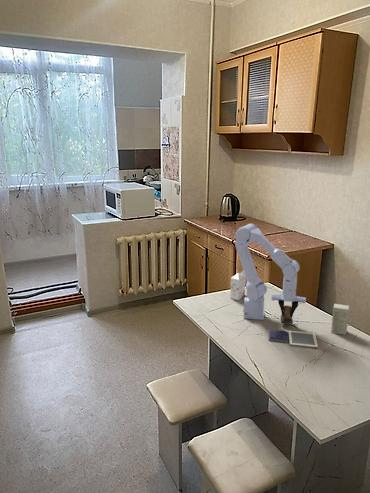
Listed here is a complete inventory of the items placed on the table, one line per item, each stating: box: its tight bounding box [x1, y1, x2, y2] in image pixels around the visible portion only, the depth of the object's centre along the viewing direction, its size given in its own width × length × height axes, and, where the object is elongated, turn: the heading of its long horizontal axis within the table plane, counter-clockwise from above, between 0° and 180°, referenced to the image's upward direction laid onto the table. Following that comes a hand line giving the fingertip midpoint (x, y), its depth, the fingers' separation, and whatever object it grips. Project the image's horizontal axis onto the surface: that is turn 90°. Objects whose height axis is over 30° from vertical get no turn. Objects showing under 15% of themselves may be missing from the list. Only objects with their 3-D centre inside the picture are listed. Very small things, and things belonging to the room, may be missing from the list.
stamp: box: [280, 304, 294, 325], centre depth 167 cm, size 5×5×7 cm
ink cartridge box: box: [230, 269, 246, 301], centre depth 196 cm, size 9×5×15 cm, turn 148°
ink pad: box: [267, 329, 289, 344], centre depth 158 cm, size 8×7×2 cm
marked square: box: [287, 330, 319, 349], centre depth 156 cm, size 11×11×1 cm
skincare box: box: [330, 303, 350, 336], centre depth 161 cm, size 6×4×12 cm
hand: (286, 315), depth 168 cm, fingers closed on stamp, 3 cm apart
